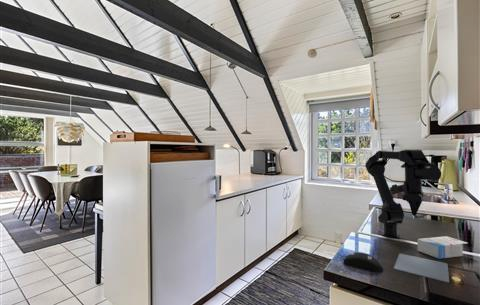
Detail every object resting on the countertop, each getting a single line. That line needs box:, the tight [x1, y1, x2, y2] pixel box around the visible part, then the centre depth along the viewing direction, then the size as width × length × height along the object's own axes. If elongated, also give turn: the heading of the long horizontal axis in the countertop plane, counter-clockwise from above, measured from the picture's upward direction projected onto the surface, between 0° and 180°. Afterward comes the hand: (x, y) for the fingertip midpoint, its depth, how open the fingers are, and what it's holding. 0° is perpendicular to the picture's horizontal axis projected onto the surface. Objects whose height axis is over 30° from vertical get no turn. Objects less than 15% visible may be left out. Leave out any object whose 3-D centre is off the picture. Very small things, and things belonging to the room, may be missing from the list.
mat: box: [393, 253, 450, 283], centre depth 81 cm, size 16×14×1 cm
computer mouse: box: [342, 252, 384, 273], centre depth 82 cm, size 8×12×4 cm, turn 50°
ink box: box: [417, 235, 469, 260], centre depth 92 cm, size 8×5×15 cm
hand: (414, 215), depth 100 cm, fingers closed
